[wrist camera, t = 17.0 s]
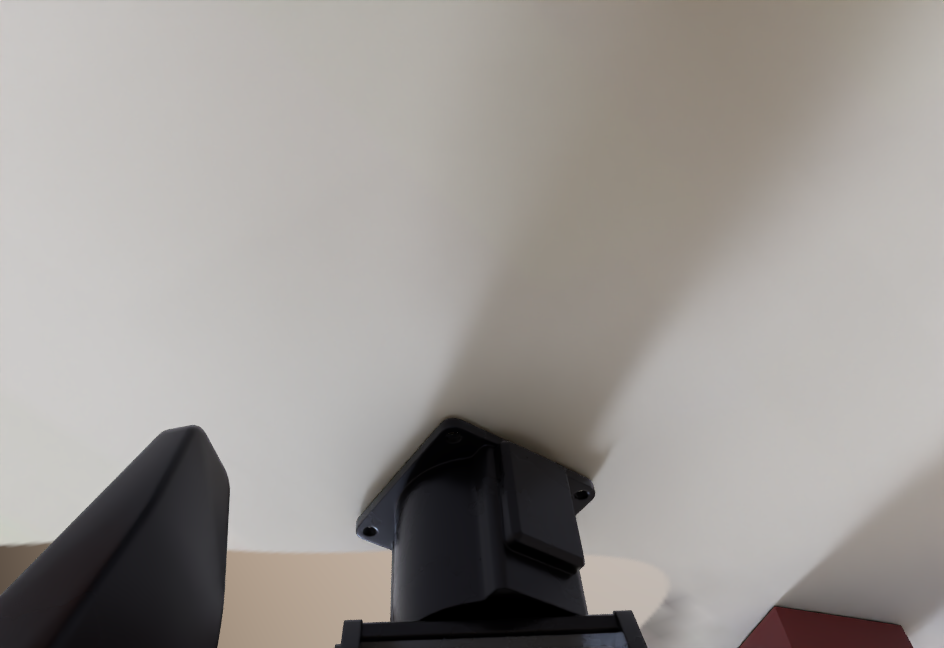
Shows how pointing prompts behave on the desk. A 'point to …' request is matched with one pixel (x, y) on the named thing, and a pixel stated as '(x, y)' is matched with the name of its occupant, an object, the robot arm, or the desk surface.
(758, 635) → the toy houses
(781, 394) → the desk surface
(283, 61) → the desk surface
